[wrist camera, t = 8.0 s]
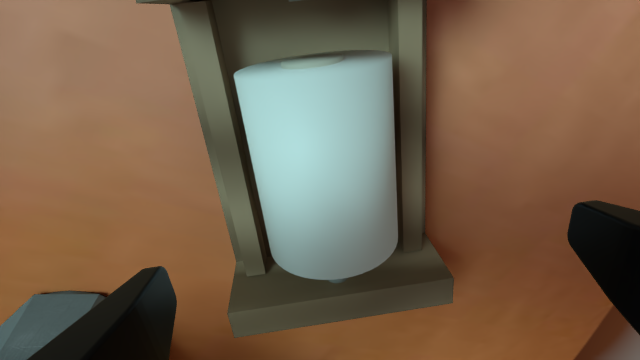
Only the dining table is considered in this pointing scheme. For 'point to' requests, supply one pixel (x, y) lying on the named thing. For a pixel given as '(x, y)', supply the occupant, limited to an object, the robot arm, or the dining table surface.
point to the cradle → (237, 170)
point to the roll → (324, 159)
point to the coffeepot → (42, 321)
